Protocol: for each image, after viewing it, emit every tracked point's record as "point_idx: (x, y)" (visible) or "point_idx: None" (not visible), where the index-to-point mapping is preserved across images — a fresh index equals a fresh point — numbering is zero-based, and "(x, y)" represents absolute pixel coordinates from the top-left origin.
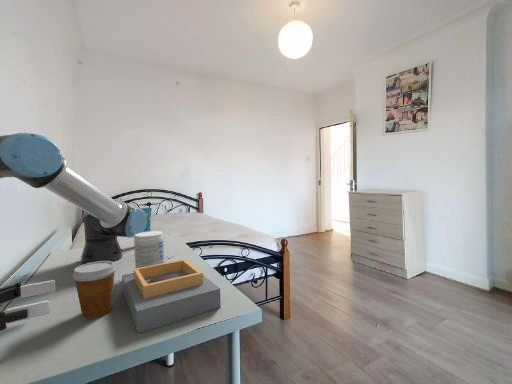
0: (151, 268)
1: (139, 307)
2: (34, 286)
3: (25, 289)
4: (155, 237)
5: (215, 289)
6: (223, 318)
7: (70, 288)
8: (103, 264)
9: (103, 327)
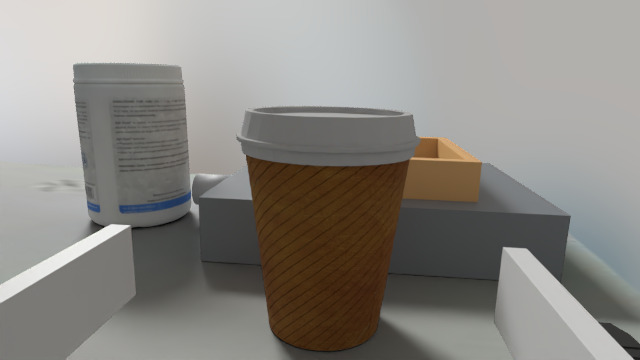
0: None
1: (542, 211)
2: (55, 288)
3: (6, 334)
4: (181, 74)
5: (491, 165)
6: None
7: None
8: (305, 114)
9: (475, 323)
